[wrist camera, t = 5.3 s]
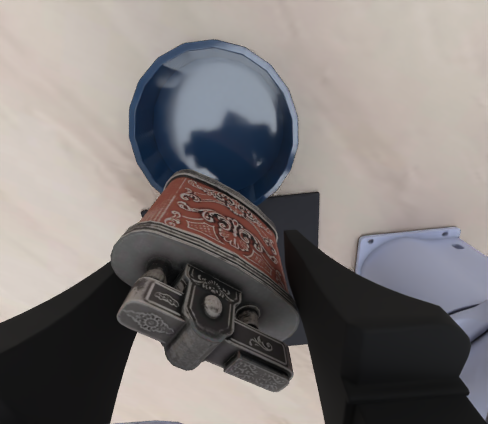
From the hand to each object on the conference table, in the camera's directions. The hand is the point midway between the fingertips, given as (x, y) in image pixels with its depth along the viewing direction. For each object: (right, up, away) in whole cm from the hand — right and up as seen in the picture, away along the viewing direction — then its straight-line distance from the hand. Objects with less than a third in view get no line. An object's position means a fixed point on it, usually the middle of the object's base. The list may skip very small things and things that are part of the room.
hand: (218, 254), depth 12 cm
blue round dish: (-1, +8, +7) cm, 11 cm away
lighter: (0, +2, +4) cm, 5 cm away
